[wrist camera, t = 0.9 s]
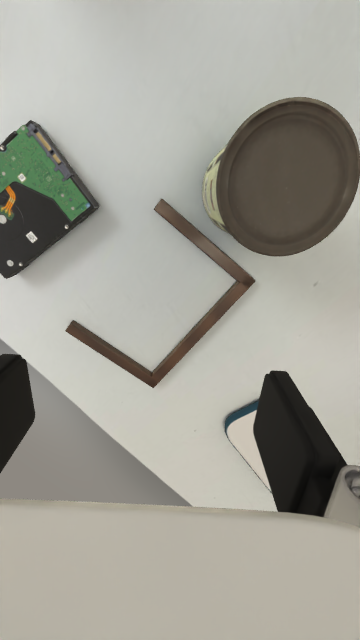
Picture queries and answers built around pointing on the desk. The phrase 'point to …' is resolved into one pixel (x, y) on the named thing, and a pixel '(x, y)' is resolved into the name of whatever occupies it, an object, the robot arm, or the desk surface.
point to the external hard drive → (246, 439)
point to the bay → (199, 330)
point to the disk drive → (36, 198)
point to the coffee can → (284, 177)
